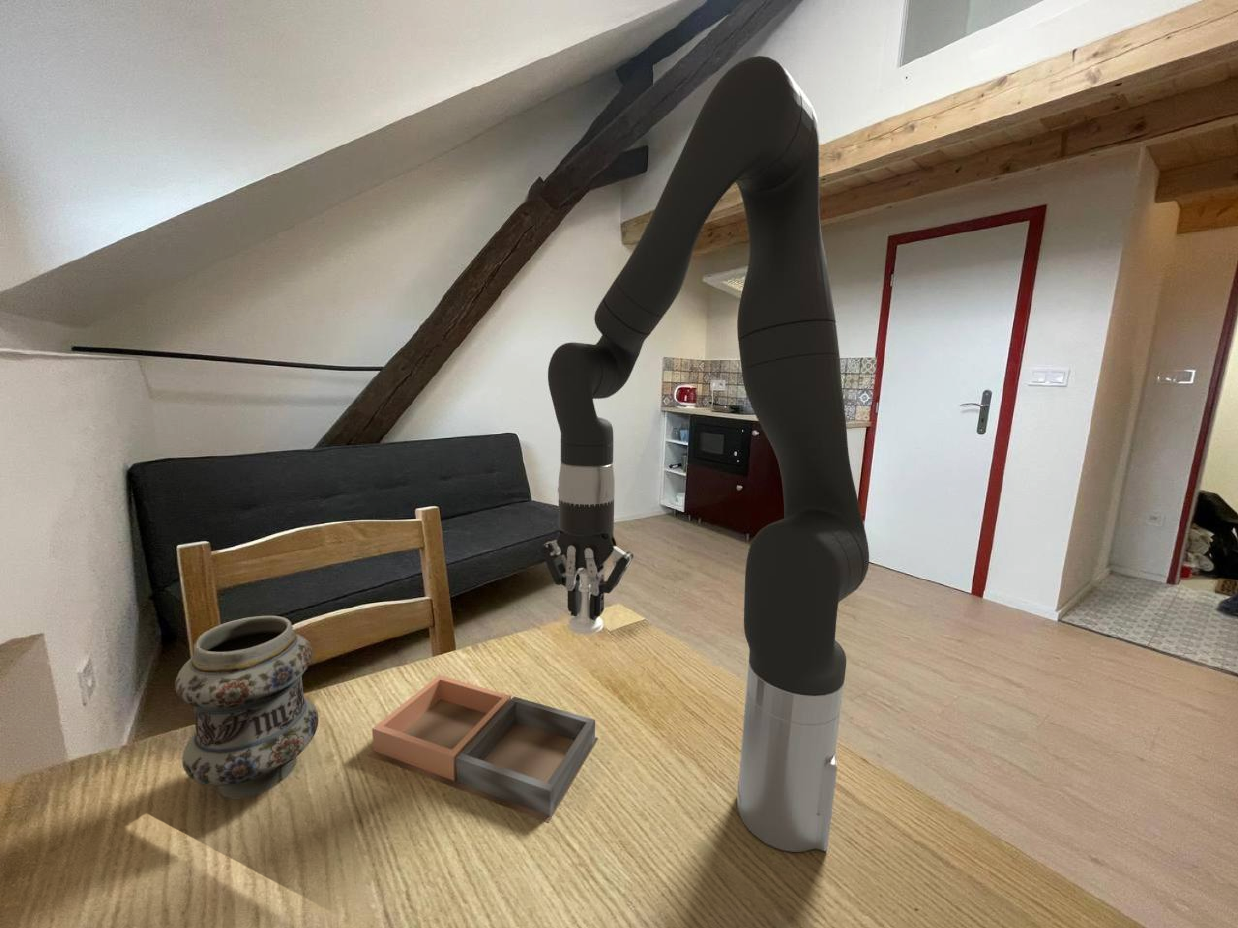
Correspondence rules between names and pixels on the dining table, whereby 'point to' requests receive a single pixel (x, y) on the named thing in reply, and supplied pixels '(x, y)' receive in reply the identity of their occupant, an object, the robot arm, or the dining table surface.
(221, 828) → the dining table surface
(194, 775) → the apothecary jar
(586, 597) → the chess piece
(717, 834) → the dining table surface
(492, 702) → the orange square tray
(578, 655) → the dining table surface
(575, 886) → the dining table surface
